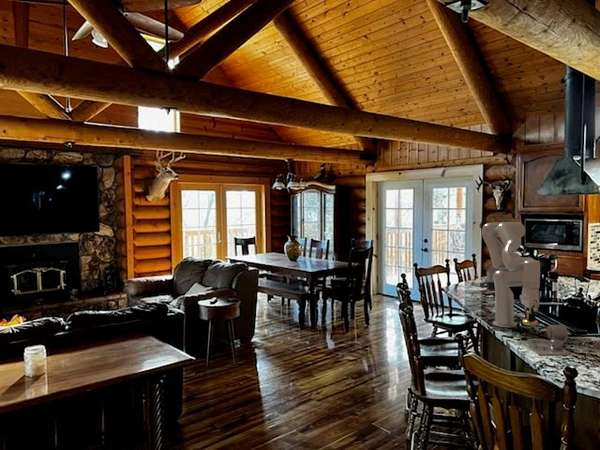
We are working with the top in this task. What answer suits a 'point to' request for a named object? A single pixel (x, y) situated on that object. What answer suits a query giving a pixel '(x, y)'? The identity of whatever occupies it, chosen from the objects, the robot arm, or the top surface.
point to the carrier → (546, 346)
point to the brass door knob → (529, 323)
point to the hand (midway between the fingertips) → (530, 319)
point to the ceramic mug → (557, 332)
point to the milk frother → (489, 280)
